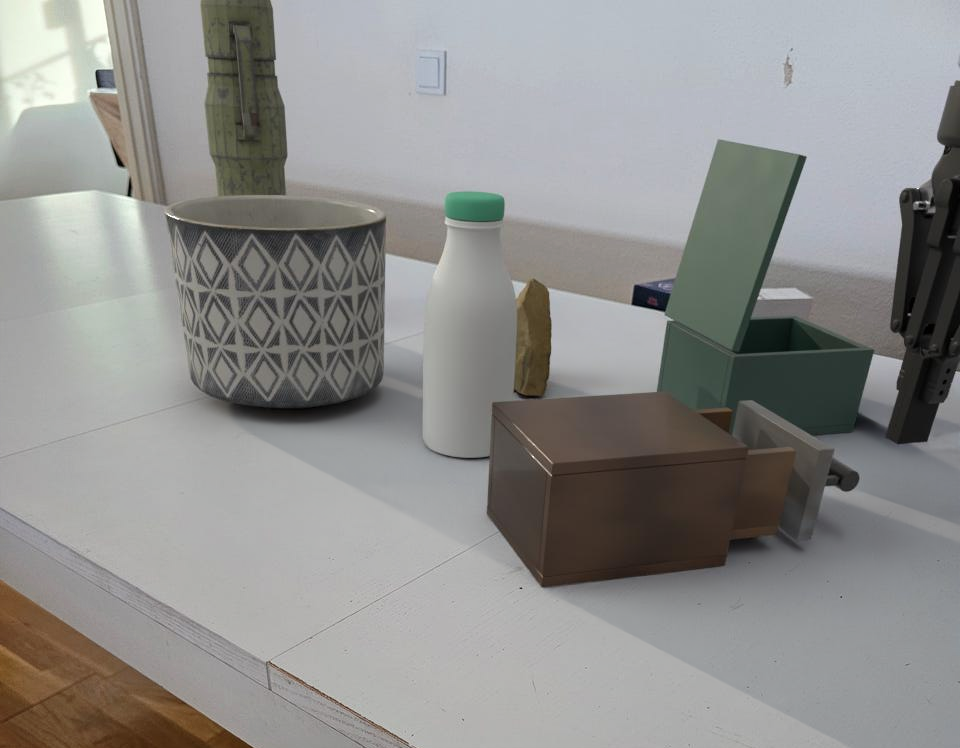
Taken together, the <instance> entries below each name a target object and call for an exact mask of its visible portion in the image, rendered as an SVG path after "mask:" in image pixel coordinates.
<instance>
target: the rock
mask: <svg viewBox="0 0 960 748" xmlns="http://www.w3.org/2000/svg"><path fill="white" fill-rule="evenodd" d="M516 303H517V337H516V357H515V375H514V391H516V392H517V393H519V394H521V395H524V396H533V397H535V396H536V397H543V396H544V395H545V393H546V390H547V387H548V385H547V384H548V381H549V379H550V372H551V371H550V370H551V369H550V368H551V367H550V366H551V356H552V336H553V334H552V329H553V326H552V324H553V323H552V317H551V301H550V291H549V289H548V287H547V286H545V285H544V284H543V283H542V282H539V281H538V279H535V278H530V279H529V280H528V281H527V283H526V285H525V286H524V288H523V289H522V290H521V291H520V292H519V294H518V295H517V297H516Z"/></svg>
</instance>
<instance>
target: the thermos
mask: <svg viewBox="0 0 960 748" xmlns="http://www.w3.org/2000/svg"><path fill="white" fill-rule="evenodd" d="M199 4H200V14H201V15H200V16H201V22H202V23H201V25H202V35H203V45H204V55H205V56H204V57H205V58H207V67H208V72H206V75H207V88H206V89H207V90H206V92H205V99H204V111H205V121H206V122H205V123H206V131H207V133H206V134H207V142H208V152H209V153H208V154H209V156H210V158H211V160H212V162H213V164H214V169H215V179H216V188H217V196H234V195H287V188H286V174H285V173H286V172H285V171H286V170H285V165H286V162H287V159H288V153H289V152H288V139H287V138H288V137H287V123H286V107H285V104H284V101H283V97H282V95H281V92H280V88H279V84H278V83H279V82H278V81H279V80H278V75H276V66H275V65H276V64H275V63H276V62H275V61H277V52H276V37H275V21H274V7H273V4H272V1H271V0H200V3H199Z"/></svg>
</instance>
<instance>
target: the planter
mask: <svg viewBox="0 0 960 748" xmlns="http://www.w3.org/2000/svg"><path fill="white" fill-rule="evenodd" d="M164 214H165V215H164V216H165V222H166V227H167V233H168V234H167V235H168V240H169V241H168V242H169V248H170V254H171V261H172V267H173V274H174V280H175V281H174V282H175V285H176V286H175V287H176V292H177V300H178V307H179V312H180V319H181V325H182V332H183V340H184V346H185V352H186V359H187V365H188V372H189V376H190V380H191V381H192V383H193V385H194V386H195V387H196V388H197V389H198V390H200V391H201V392H203V393H204V394H206V395H207V396H210V397H212V398H215V399H217V400H221V401H224V402H228V403H232V404H238V405H245V406H252V407H258V408H265V409H272V410H302V409H303V410H304V409H313V408H317V407H322V406H326V405H327V406H328V405H333V404H337V403H338V404H339V403H343V402H347V401H350V400H353V399H357V398H359V397H362V396H364V395H366V394H368V393H370V392H372V391H373V390H375V389H376V388H377V387H379V385H380V384H381V382H382V380H383V377H384V374H385V319H386V318H385V315H386V314H385V313H386V309H385V308H386V248H387V247H386V245H387V242H386V241H387V239H386V238H387V214H386V212H385V211H384V210H383V209H381V208H379V207H376V206H374V205H371V204H367V203H362V202H358V201H354V200H353V201H352V200H346V199H339V198H330V197H322V196H321V197H319V196H306V195H305V196H304V195H287V194H286V195H234V196H218V195H217V196H208V197H200V198H193V199H186V200H182V201H177V202H175V203H172V204H170V205H168V206H166V208H165V209H164Z"/></svg>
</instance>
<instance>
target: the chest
mask: <svg viewBox="0 0 960 748" xmlns="http://www.w3.org/2000/svg"><path fill="white" fill-rule="evenodd" d="M874 353H875V349H874V348H872V347H869V346H866V345H865V344H864V345H863V344H862V343H860V342H857V341H855V340H852V339H851V338H848V337H846V336H843V335H841V334H839V333H836V332H834V331H831V330H829V329H827V328H824V327H822V326H820V325H817V324H815V323H814V322H813V323H812V322H811V321H808V320H806V319H804V318H801V317H799V316H797V315H781V316H779V315H778V316H755V317H754V316H751V319H750V322H749V325H748V327H747V330H746V333H745V336H744V339H743V342H742V345H741V347H740V350H739V352H735V351H731V350H729V349H727V348H725V347H724V346H722V345H720V344H718V343H716V342H714V341H712V340H710V339H708V338H707V337H705V336H703V335H701V334H699V333H697V332H695V331H693V330H691V329H690V328H688V327H686V326H684V325H682V324H680V323H678V322H676V321H675V320H667V321H666V326H665V331H664V338H663V346H662V353H661V360H660V367H659V373H658V379H657V387H656V392H664V391H665V392H667V393H669V394H670V395H672V396H673V397H675V398H676V399H678V400H679V401H681V402H682V403H684V404H685V405H687V406H688V407H690V408H691V409H693V410H700V409H714V408H729V409H731V410H732V411H733V414H732V419H731V424H730V429H729V434H730V435H731V436H732V434H733V429H734V424H735V418H736V413H737V408H738V403H739V401H748V400H753V401H754V402H756V403H758V404H759V405H761V406H763V407H764V408H766V409H768V410H769V411H771V412H773V413H774V414H776V415H778V416H780V417H781V418H783V419H785V420H786V421H788V422H790V423H791V424H793V425H795V426H796V427H798V428H800V429H802V430H803V431H805V432H807V433H808V434H810V435H812V436H819V435H829V434H831V435H832V434H843V433H852V432H853V431H854V427H855V424H856V420H857V416H858V413H859V409H860V406H861V402H862V397H863V394H864V390H865V386H866V383H867V380H868V375H869V372H870V368H871V365H872V361H873V357H874Z"/></svg>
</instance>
